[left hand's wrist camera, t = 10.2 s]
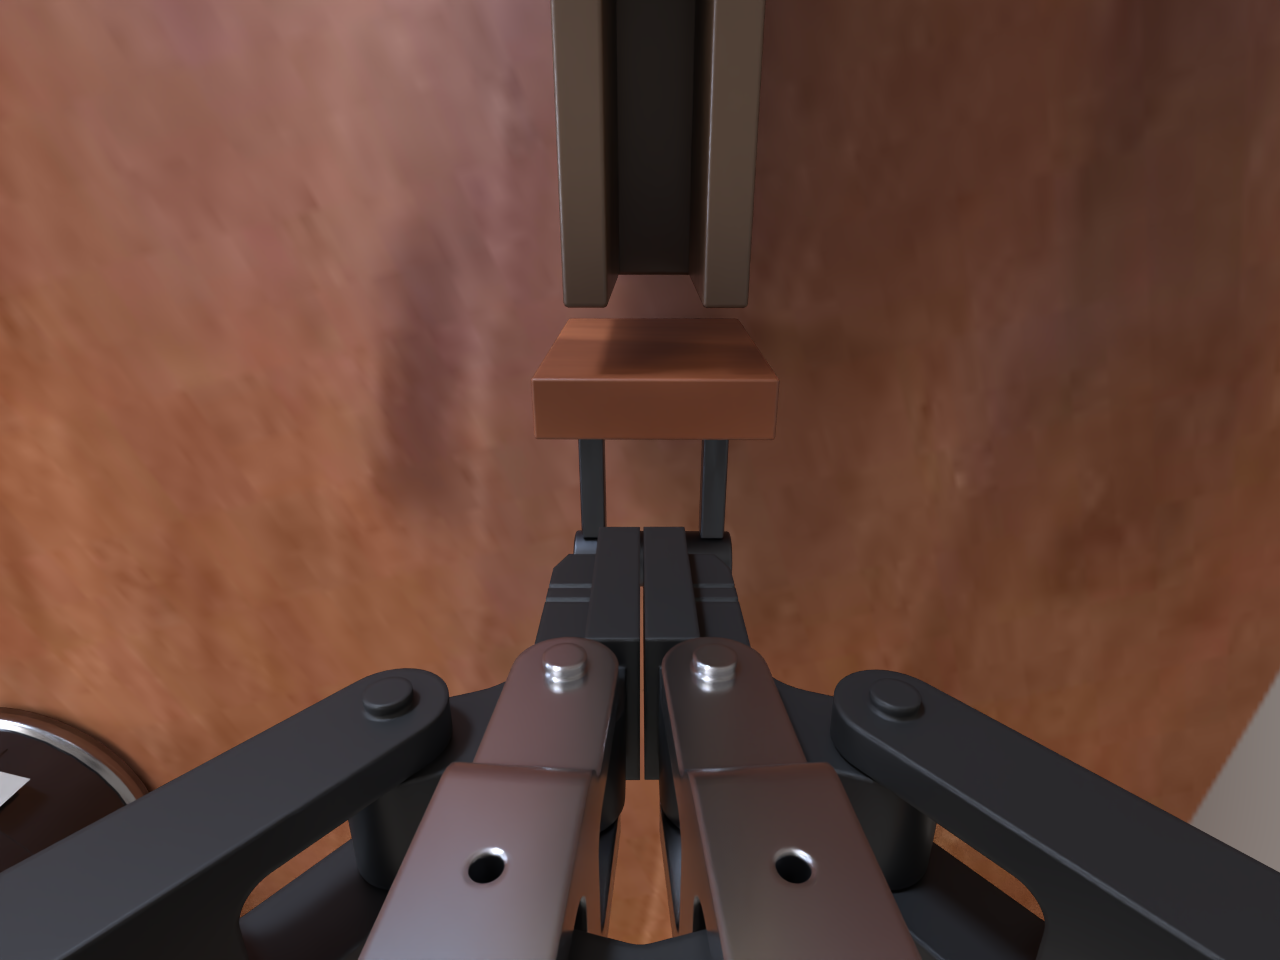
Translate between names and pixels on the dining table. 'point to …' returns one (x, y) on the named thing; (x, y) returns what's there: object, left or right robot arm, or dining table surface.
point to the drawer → (656, 239)
